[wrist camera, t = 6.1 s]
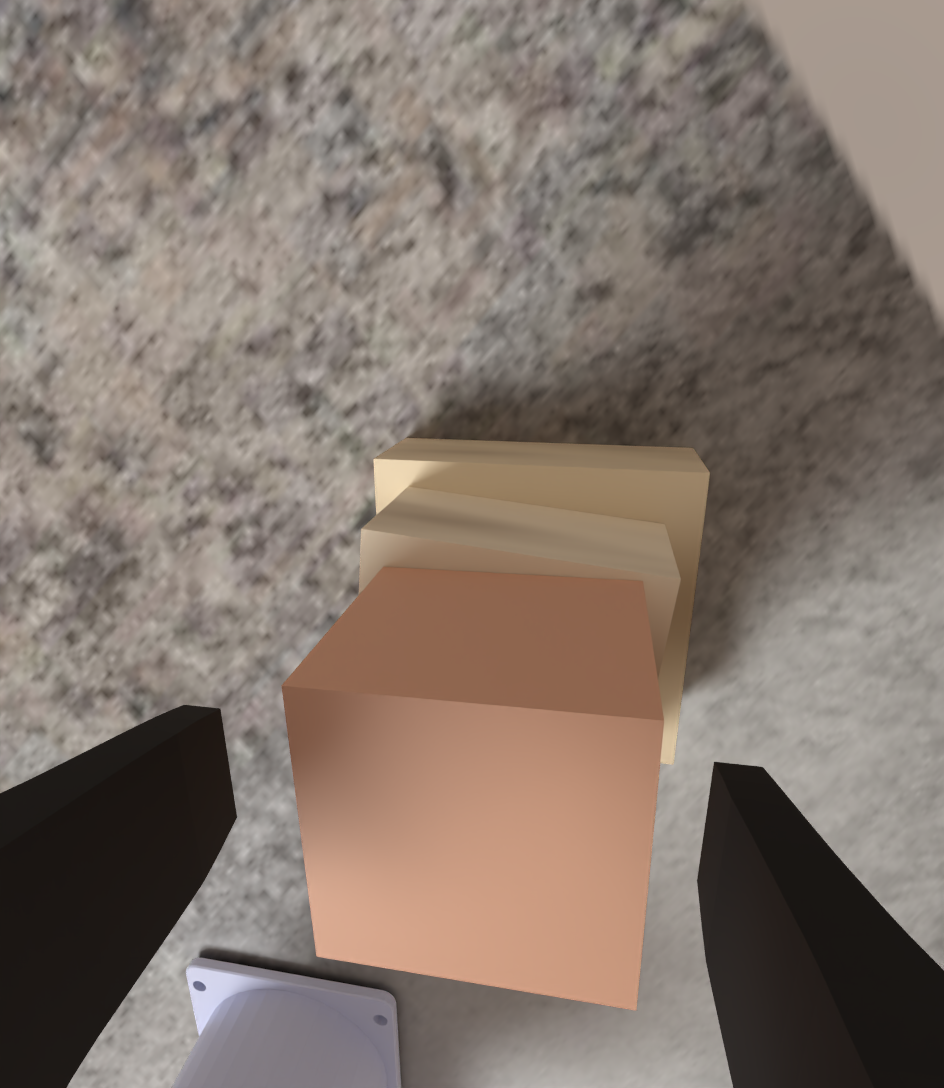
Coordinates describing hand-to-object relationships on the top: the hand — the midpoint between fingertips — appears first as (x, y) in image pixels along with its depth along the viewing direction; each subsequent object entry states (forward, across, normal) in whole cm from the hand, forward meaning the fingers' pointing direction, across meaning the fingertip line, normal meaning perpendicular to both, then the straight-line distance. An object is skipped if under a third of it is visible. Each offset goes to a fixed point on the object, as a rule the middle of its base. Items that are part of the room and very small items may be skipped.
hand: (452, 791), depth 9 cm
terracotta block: (+3, 0, 0) cm, 3 cm away
